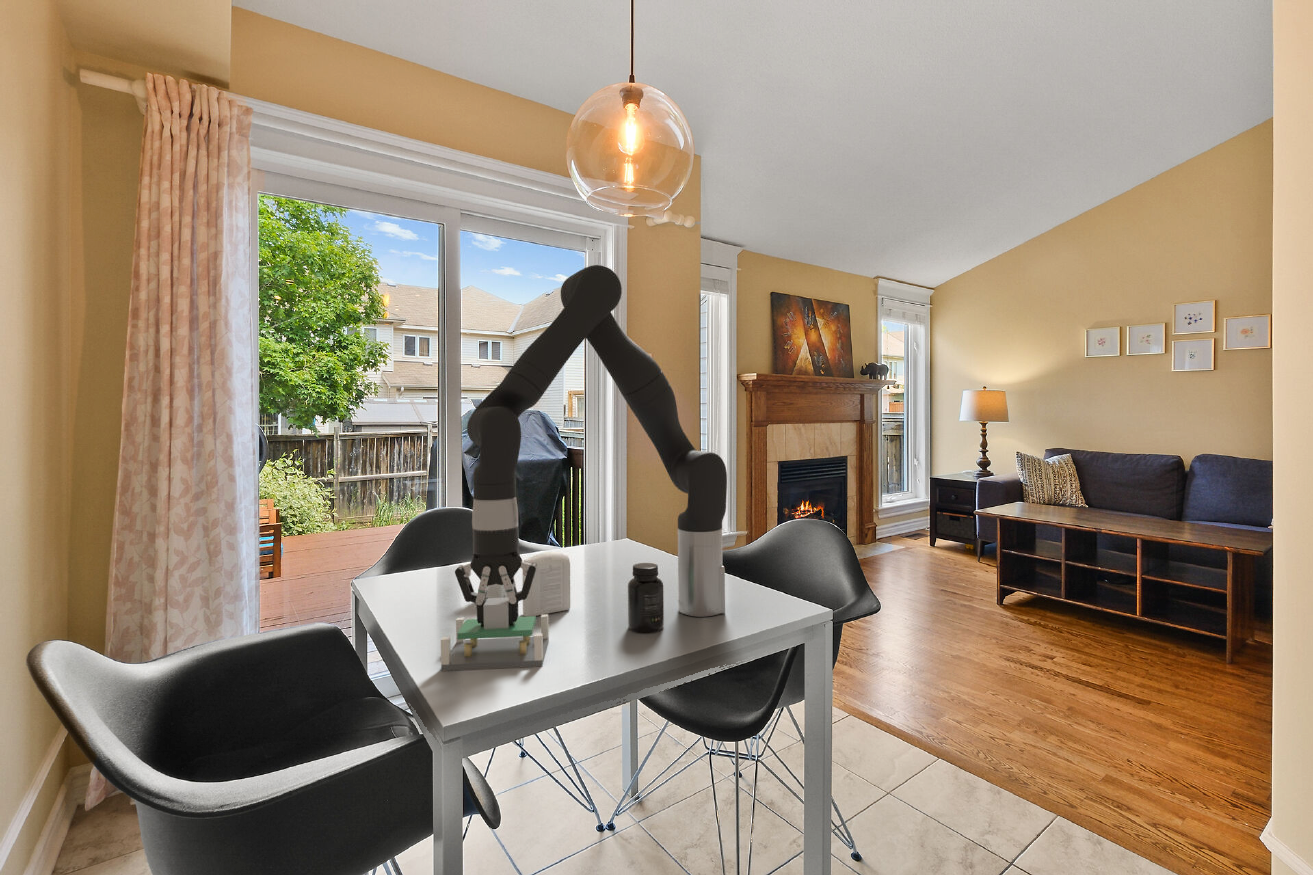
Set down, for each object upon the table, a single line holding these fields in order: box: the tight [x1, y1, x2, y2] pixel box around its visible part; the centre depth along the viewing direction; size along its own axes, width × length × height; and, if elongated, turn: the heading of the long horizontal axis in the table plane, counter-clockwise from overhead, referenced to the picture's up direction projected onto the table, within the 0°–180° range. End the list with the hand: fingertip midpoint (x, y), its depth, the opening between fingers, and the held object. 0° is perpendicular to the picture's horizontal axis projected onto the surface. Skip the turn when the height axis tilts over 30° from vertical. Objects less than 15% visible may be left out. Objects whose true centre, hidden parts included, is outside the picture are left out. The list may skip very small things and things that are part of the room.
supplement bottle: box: [627, 562, 665, 634], centre depth 116 cm, size 7×7×12 cm
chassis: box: [440, 613, 550, 672], centre depth 103 cm, size 16×11×5 cm
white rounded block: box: [522, 551, 571, 617], centre depth 127 cm, size 10×4×12 cm, turn 123°
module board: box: [457, 597, 537, 640], centre depth 103 cm, size 12×7×5 cm, turn 96°
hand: (497, 624), depth 103 cm, fingers closed on module board, 4 cm apart
